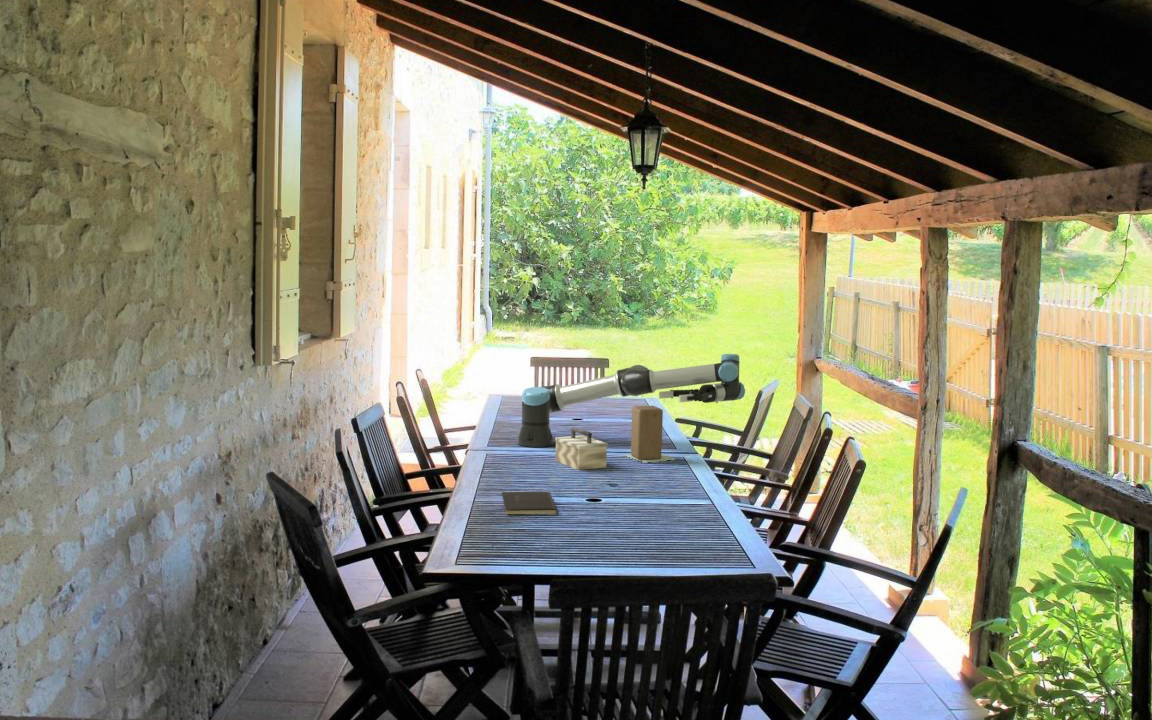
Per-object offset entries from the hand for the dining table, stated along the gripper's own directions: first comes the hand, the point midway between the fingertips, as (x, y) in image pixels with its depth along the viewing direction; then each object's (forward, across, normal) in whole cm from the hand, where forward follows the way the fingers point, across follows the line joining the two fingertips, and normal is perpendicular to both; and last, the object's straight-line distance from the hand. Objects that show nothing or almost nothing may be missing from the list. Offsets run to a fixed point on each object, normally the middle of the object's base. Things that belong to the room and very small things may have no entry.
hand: (669, 396), depth 404 cm
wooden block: (+12, -2, -23) cm, 26 cm away
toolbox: (+41, +1, -23) cm, 47 cm away
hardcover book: (+89, -47, -24) cm, 103 cm away
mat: (+10, -1, -24) cm, 26 cm away
